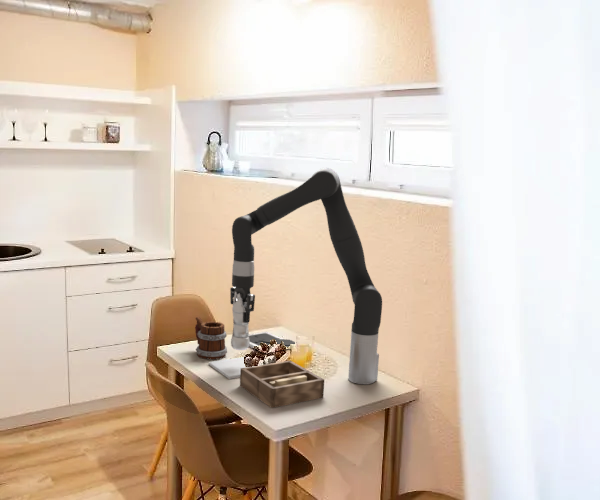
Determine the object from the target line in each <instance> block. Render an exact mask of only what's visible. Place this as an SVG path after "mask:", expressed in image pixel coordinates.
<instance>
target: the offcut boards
mask: <svg viewBox="0 0 600 500" xmlns="http://www.w3.org/2000/svg"><path fill="white" fill-rule="evenodd" d="M305 381H307V376H305V375H302V376H296V377H290V378H285V379H279V380H275V381H272V382H269V384H270V385H271V386H273V387H278V386H283V385H289V384H294V383H300V382H305Z"/></svg>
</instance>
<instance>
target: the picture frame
mask: <svg viewBox="0 0 600 500" xmlns="http://www.w3.org/2000/svg"><path fill="white" fill-rule="evenodd" d="M272 339H275V340H276V342H277V344H280V343H281V341H283V342H284V345H285V346H286V347H289V346H290V344H295V341H293V340H292V339H286V338H283V337H280V336H278V335H276V334H273V333H271V332H269V331H261V332H256V333H251V334H249V341H250V343H249V347H248V348H251V349H252V348H253V347H254V346H259V345H260V343H261V342H263V343H266V344H267V345H269V344H270V340H272Z"/></svg>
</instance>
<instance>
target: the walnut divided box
mask: <svg viewBox="0 0 600 500" xmlns="http://www.w3.org/2000/svg"><path fill="white" fill-rule="evenodd" d="M302 375H305V376H307V381H305V382H300V383H294V384H289V385H283V386H278V387H273V386H271V385H270V384H269V382H272V381H275V380H279V379H285V378H290V377H296V376H302ZM239 378H240V379H239V386H240V387H241V388H243V390H245V391H247V392H248V393H250V394H251V395H252V396H254V398H257V399H258V400H260V401H261V402H262V403H264V404H266V405H267V406H268V407H269V408H271V409H274V408H278V407H283V406H284V407H285V406H288V405H293V404H299V403H303V402H308V401H313V400H314V401H315V400H318V399H323V398H324V392H325V391H324V390H325V379H324V378H322V377H321V376H319V375H317V374H315V373H313V372H311V371H310V370H308V369H306V368H305V367H303V366H301V365H299V364H297V363H296V362H294V361H292V360H286V361H279V362H272V363H266V364H262V365H259V366H252V367H246V368H241V373H240V377H239Z"/></svg>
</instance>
